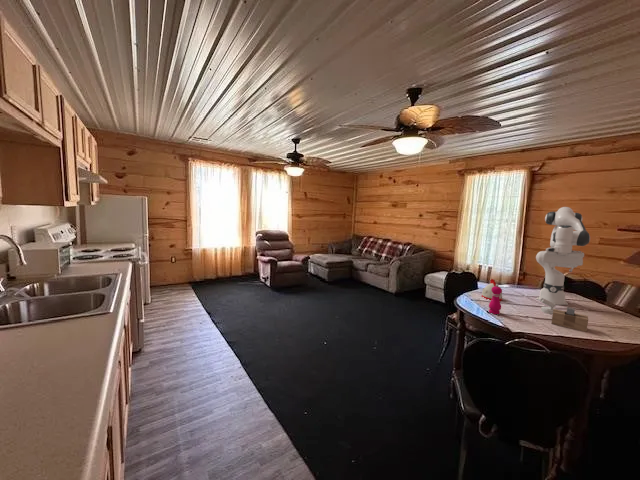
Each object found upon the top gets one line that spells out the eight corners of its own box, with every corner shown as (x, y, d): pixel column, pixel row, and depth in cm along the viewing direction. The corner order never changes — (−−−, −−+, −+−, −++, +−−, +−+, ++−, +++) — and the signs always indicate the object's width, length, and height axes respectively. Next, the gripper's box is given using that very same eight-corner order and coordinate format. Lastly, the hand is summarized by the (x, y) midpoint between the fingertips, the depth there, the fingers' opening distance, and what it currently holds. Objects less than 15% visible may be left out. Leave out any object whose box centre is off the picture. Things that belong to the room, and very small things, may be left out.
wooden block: (552, 320, 182) (553, 308, 181) (585, 327, 172) (587, 315, 171) (551, 323, 176) (552, 312, 175) (586, 331, 166) (588, 319, 165)
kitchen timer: (496, 295, 230) (498, 277, 228) (505, 301, 217) (507, 282, 215) (478, 294, 232) (480, 277, 230) (486, 300, 218) (488, 281, 216)
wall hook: (537, 296, 201) (553, 297, 199) (536, 309, 202) (552, 310, 200) (544, 300, 192) (561, 301, 190) (542, 313, 194) (559, 315, 192)
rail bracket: (564, 322, 176) (567, 307, 175) (572, 324, 174) (574, 308, 173) (564, 324, 173) (567, 308, 172) (572, 326, 171) (574, 310, 170)
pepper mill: (485, 311, 195) (488, 282, 193) (495, 310, 196) (498, 282, 193) (492, 315, 188) (495, 285, 186) (503, 315, 189) (506, 285, 186)
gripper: (584, 251, 182) (582, 272, 182) (543, 248, 194) (541, 268, 195) (585, 251, 177) (583, 273, 177) (543, 248, 190) (541, 269, 190)
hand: (561, 270), depth 186 cm, fingers open, 8 cm apart
